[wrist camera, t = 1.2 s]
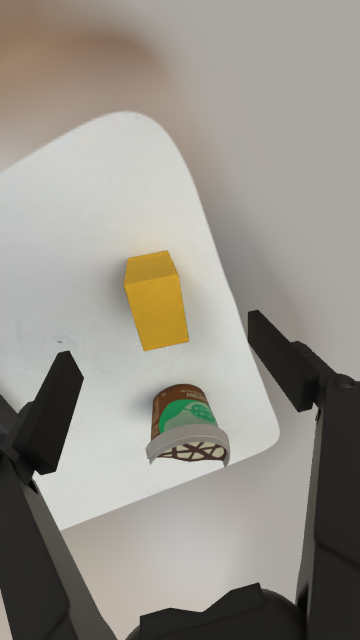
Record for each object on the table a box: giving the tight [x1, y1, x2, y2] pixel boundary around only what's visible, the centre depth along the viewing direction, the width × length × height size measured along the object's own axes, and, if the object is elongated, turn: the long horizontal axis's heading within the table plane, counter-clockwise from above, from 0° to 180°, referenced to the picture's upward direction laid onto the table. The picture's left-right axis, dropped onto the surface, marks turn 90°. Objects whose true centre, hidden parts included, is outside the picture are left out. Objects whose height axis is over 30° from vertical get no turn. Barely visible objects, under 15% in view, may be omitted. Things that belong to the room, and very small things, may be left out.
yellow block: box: [124, 251, 189, 351], centre depth 23 cm, size 7×4×8 cm, turn 9°
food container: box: [146, 384, 230, 467], centre depth 33 cm, size 12×6×10 cm, turn 68°
